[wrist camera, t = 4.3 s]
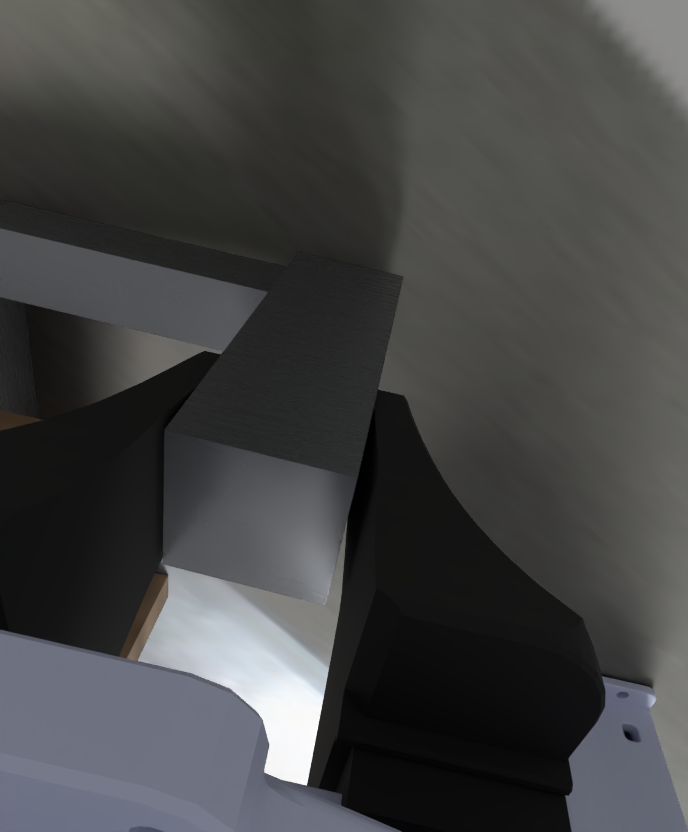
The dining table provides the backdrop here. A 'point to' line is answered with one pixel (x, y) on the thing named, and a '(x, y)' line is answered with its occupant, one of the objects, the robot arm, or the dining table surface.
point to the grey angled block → (223, 383)
